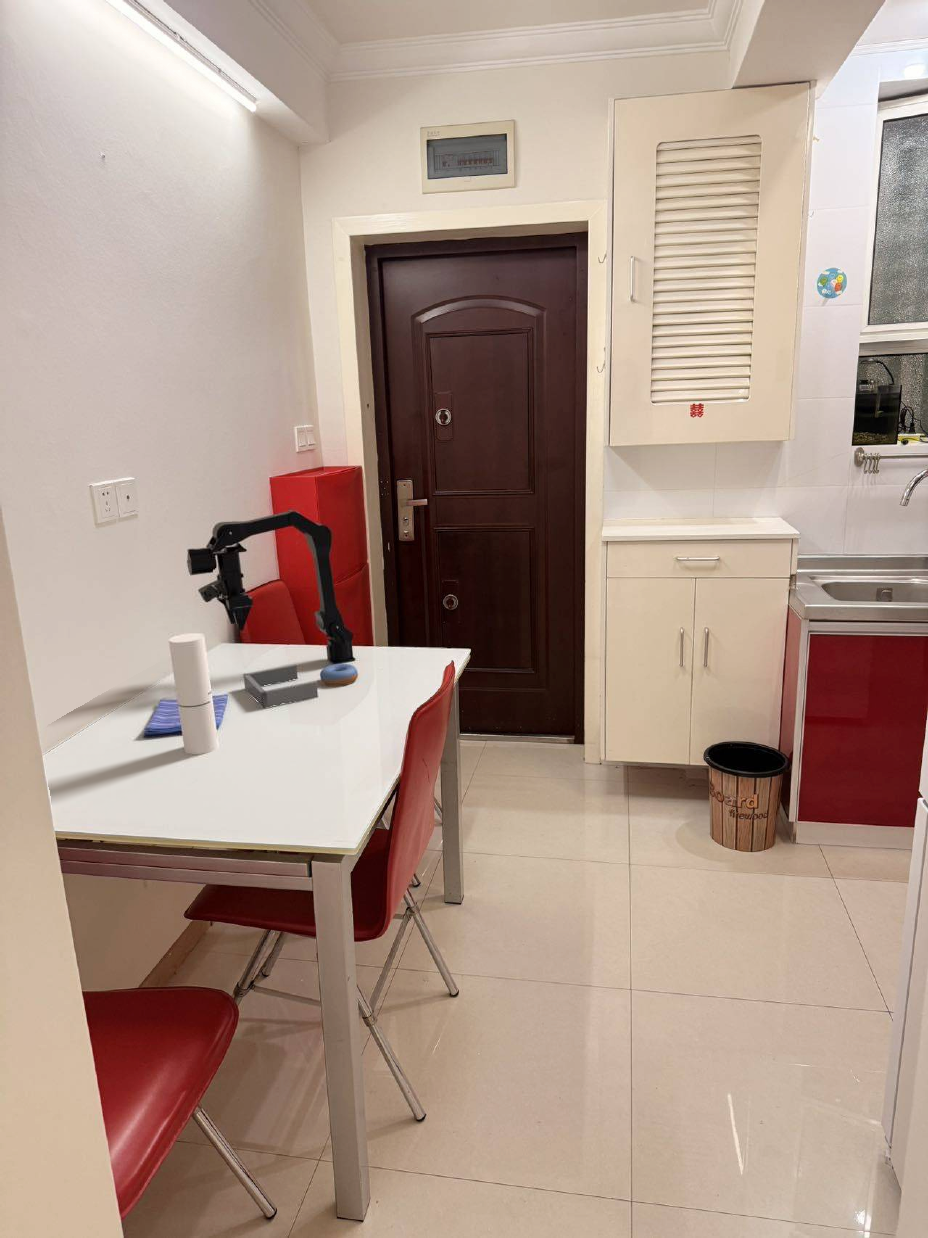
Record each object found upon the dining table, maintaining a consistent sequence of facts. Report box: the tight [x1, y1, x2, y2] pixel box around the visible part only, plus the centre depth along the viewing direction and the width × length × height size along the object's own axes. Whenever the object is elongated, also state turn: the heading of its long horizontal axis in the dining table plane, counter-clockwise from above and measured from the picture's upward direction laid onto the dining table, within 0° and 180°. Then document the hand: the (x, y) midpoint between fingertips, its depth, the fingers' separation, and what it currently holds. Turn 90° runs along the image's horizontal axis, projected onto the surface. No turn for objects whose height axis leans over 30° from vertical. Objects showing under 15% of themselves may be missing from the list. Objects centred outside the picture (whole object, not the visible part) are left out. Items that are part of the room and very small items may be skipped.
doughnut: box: [319, 663, 359, 687], centre depth 225 cm, size 10×10×5 cm
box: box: [243, 664, 319, 709], centre depth 217 cm, size 14×18×4 cm
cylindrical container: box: [168, 632, 220, 755], centre depth 181 cm, size 7×7×25 cm
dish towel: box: [142, 694, 229, 739], centre depth 204 cm, size 17×24×3 cm
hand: (236, 627), depth 227 cm, fingers open, 9 cm apart
